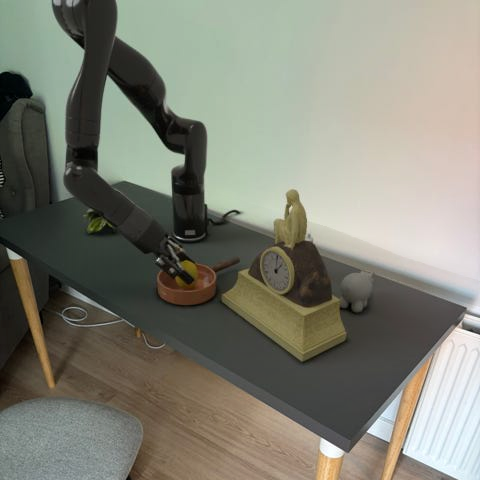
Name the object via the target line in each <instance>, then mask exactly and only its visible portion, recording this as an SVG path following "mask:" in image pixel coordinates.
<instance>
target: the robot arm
mask: <svg viewBox="0 0 480 480" xmlns="http://www.w3.org/2000/svg"><path fill="white" fill-rule="evenodd" d="M51 9H52V13H53V16H54V19H55V20H56V22H57V24H58V25H59V27H60V29H61V30H62V31H63V32H64V33H65V34H66V35H67V36H68V37H69V38H70V39H71V40H72V41H74V43H76V44H77V46H79V47H80V48H81V49H82V50H83V58H82V62H81V66H80V69H79V71H78V74H77V76H76V77H75V80H74V81H73V84H72V87H71V89H70V91H69V93H68V96H67V100H66V105H65V113H64V114H65V115H64V116H65V118H64V119H65V121H64V140H65V145H66V146H65V147H66V148H65V162H64V163H65V164H64V172H63V175H62V182H63V187H64V188H65V190H66V191H67V192H68V193H69V194H70V195H71V196H72V197H74V198H75V199H76V200H77V201H79V202H80V203H81V204H83V205H85V206H86V207H87V208H89V209H90V208H91V209H92V210H94V211H96V212H97V213H98V214H99V215H100V216H101V217H102V218H103V219H105V220H106V221H107V222H108V223H109V224H111V225H112V226H113V227H114V228H115V231H117V232H118V233H119V234H120V235H121V236H122V237H123V238H124V239H125V240H127V242H129V243H131V244H132V245H133V246H134V247H135V248H137V250H139V251H140V252H141V253H143V254H144V255H149V254H151V253H152V254H153V255H154V256H155V257H156V259H155V260H154V264H155V265H156V266H157V267H158V268H160V269H161V270H163V271H164V272H165V273H167V274H168V275H169V276H170V277H171V278H173V279H174V278H175V277H177V276H178V277H179V278H180V279H181V280H183V281H184V282H185V283H186V284H187V285H190V284H191V283H192V282H194V277H193V276H192V275H191V274H190V273H188V272H187V271H186V270H185V269H183V267H182V266H181V265H180V263H181V262H183V261H185V260H187V261H190V262H192V263H193V264H194V265H195V263H196V261H195V260H194V259H193V258H192V257H190V255H188V254H187V253H186V251H185V249H184V246H183V244H182V243H181V242H183V243H197V242H200V241H203V240H204V239H205V238H206V236H208V234H209V233H208V232H209V231H208V230H209V229H208V227H209V226H210V223H211V224H212V225H222V224H224V223H226V222H227V218H226V217H227V216H229V215H231V214H234V213H236V214H237V215H238V214H241V212H240V210H237V209H232V210H229V211H227V212H226V213H223V215H222V216H221V218H222V220H219V221H214V220H213V219H212V218H210V217H208V204H207V203H206V200H205V199H206V198H205V196H206V195H205V191H206V190H205V176H206V175H205V174H206V171H207V165H208V163H207V161H208V145H209V144H208V142H209V141H208V131H207V127H206V125H205V123H204V122H202V121H200V120H197V119H192V118H186V117H182V116H179V115H177V114H176V113H175V112H174V111H173V110H172V109H171V107H170V106H169V105H168V104H167V99H168V93H167V92H168V91H167V86H166V83H165V81H164V79H163V77H162V75H160V73H159V72H158V70H157V69H156V67H154V65H153V64H152V63H151V61H150V60H149V59H148V58H147V57H146V56H145V55H143V54H142V53H141V52H140V51H138V50H137V49H136V48H134V47H133V46H131V45H129V44H128V43H127V42H126V41H124V40H122V39H121V38H119V36H117V34H116V33H117V28H118V20H119V10H118V4H117V0H51ZM108 78H109V79H110V80H111V81H112V82H113V83H114V84H115V86H116V87H117V89H119V91H120V92H121V93H122V94H123V95H124V97H125V98H126V99H127V101H128V102H129V103H131V105H133V107H135V109H136V110H137V111H138V112H139V113H140V115H141V116H142V117H143V118H144V119H145V120H146V122H147V123H148V124H149V126H151V128H152V130H154V132H155V134H156V135H157V137H158V138H159V140H160V141H161V143H162V144H163V146H164V147H165V148H166V149H167V150H168V151H170V152H172V153H174V154H177V155H182V156H184V163H183V164H178V165H176V166H174V167H172V168H171V170H170V181H171V183H170V184H171V200H172V201H171V202H172V224H173V226H172V228H173V232H172V234H170V233H169V232H168V231H167V230H166V228H164V226H162V225H161V224H160V223H159V222H158V221H156V220H155V219H154V218H153V217H152V216H151V215H150V214H149V213H147V212H146V210H144V209H142V208H141V207H140V206H138V205H137V204H136V203H134V202H133V201H132V200H131V199H130V198H129V197H127V196H126V195H125V194H124V193H123V192H121V191H120V190H118V189H117V188H114V187H113V186H112V185H111V184H110V183H109V182H107V181H106V180H105V179H104V178H103V177H101V176H100V174H99V148H100V142H101V134H102V133H101V129H102V115H103V114H102V111H103V102H104V95H105V88H106V83H107V79H108ZM108 223H107V224H108ZM114 228H113V229H114ZM172 235H173V236H172ZM169 269H170V271H171V272H170V271H169Z"/></svg>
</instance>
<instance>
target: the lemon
mask: <svg viewBox="0 0 480 480" xmlns="http://www.w3.org/2000/svg"><path fill="white" fill-rule="evenodd" d="M179 263H180V265H181V266H182V267H183V269H185V270H186V271H187V272H188V273H190V274H191V275H192V276H193V277H194V282H192V283H191V284H190V285H187V284H186V283H185V282H184V281H183V280H181V279H180V278H179V277H178V276H177V277H175V278H176V282H177V284H178V285H179V286H180V287H181V288H184V289H186V290H188V289H190V288H192V287H194V286H195V285H196V283H197V281H198V271H197V268H196V266H195V265H194V264H193V263H192V262H190V261H187V260H185V261H183V262H181V261H180V262H179Z"/></svg>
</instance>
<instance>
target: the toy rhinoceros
mask: <svg viewBox="0 0 480 480" xmlns="http://www.w3.org/2000/svg"><path fill="white" fill-rule="evenodd" d="M374 277H375V272H368V271H365V269H364V268H363V267H361V269H360V272H352V273H350V274H347V275H346V276H345V277H344V278H343V279H342V281H341V282H340V293H341V296H340V297H338V299H340V308H341V309H348V307H349V305H350V306H351V311H352V312H354V313H355V314H356V313H361V312H362V311H363V309H364V308H366V307H367V305H368V299H369V298H370V296H371V294H372V292H373V285H374V283H375V279H374Z"/></svg>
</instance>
